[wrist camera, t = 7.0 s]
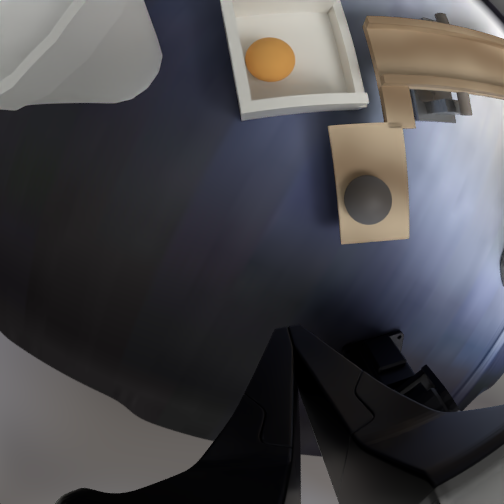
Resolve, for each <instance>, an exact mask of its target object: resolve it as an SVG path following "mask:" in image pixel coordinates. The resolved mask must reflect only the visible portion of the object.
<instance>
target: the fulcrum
mask: <svg viewBox="0 0 504 504" xmlns="http://www.w3.org/2000/svg"><path fill="white" fill-rule="evenodd" d="M419 20H426V21H432V22H437V21H434V20H431V19H427V18H421V19H419ZM410 90H411V95H412V100H413V106H414V112H415V118H416V121H431V122H446V123H456V120H455V115H459V114H460V109H459V103H458V100H452V96H451V92H447V91H436V90H420V89H410Z"/></svg>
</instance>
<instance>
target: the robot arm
mask: <svg viewBox="0 0 504 504" xmlns="http://www.w3.org/2000/svg"><path fill="white" fill-rule="evenodd" d="M398 336H399V337H398ZM403 337H404V334H403V333H402V332H401V331H397V332H394V333H390V334H387V335H383V336H380V337H376V338H372V339H369V340H365V341H361V342H357V343H353V344H349V345H346V346H344V347H343V349H342V355H341V354H340V353H338V352H337V351H335V350H334V349H333V348H331V347H330V346H329V345H327V344H326V343H325V342H323V341H322V340H320V339H319V338H318V337H316V336H315V335H314V334H312V333H311V332H310V331H308V330H307V329H306V328H304V327H303V326H302V325H294V326H289V327H288V328H287V327H283V328H277V329H275V330H274V332H273V334H272V336H271V339H270V341H269V343H268V345H267V347H266V349H265V352H264V354H263V356H262V358H261V360H260V362H259V364H258V366H257V368H256V371H255V373H254V375H253V377H252V379H251V381H250V383H249V385H248V387H247V389H246V391H245V393H244V395H243V397H242V399H241V401H240V403H239V405H238V407H237V408H236V410H235V412H234V414H233V415H232V417H231V418H230V420H229V421H228V423H227V424H226V426H225V427H224V429H223V430H222V431H221V433H220V434H219V435H218V437H217V438H216V439H215V441H214V442H213V443H212V445H211V446H210V447H209V448H208V450H207V451H206V452H205V454H204V455H203V456H202V457H201V459H200V460H199V461H198V462H197V463H196V464H195V465H194V466H192V467H191V468H190V469H188V470H187V471H185V472H182V473H180V474H178V475H175V476H173V477H170V478H168V479H165V480H163V481H160V482H157V483H155V484H152V485H149V486H147V487H144V488H141V489H138V490H135V491H131V492H126V493H104V492H100V491H96V490H92V489H88V488H80V489H77V490H74V491H71V492H69V493H67V494H65V495H63V496H61V497H60V498H59V499H58V500H57V501H56V503H55V504H301V458H300V421H299V396H298V389H299V392H300V395H301V398H302V401H303V404H304V406H305V409H306V412H307V415H308V418H309V420H310V423H311V426H312V429H313V432H314V435H315V437H316V440H317V443H318V446H319V449H320V451H321V454H322V457H323V460H324V463H325V465H326V468H327V471H328V474H329V476H330V479H331V482H332V485H333V488H334V490H335V493H336V496H337V497H338V498H337V499H338V502H339V504H504V405H499V406H494V407H488V408H482V409H475V410H468V411H460V410H459V408H458V407H457V405H456V403H455V402H454V400H453V398H452V397H451V395H450V394H449V392H448V391H447V390H446V388H445V387H444V386H443V384H442V383H441V382H440V381H439V379H438V378H437V377H436V376H435V374H434V373H433V372H432V371H431V370H430V368H429V367H428V366H427V365H425V366H423V367H422V368H421V370H420V371H419V372H417V373H416V374H415V373H414V372H413V370H412V369H411V367H410V366H409V364H408V363H407V362H406V359H405V357H404V356H403V354H402V353H401V349H402V343H403ZM348 349H349V350H348ZM347 350H348V351H347Z"/></svg>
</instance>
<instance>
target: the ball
mask: <svg viewBox="0 0 504 504" xmlns="http://www.w3.org/2000/svg"><path fill="white" fill-rule="evenodd" d="M245 63H246V67H247V69H248V71H249V72H250V73H251V74H252V75H253V76H254V77H256V78H257V79H259V80H262V81H266V82H276V81H280V80H282V79H284V78H286V77H287V76H288V75H289V74H290V73H291V72H292V70H293V68H294V66H295V55H294V52H293V50H292V48H291V47H290V46H289V45H288V44H287V43H286V42H284V41H283V40H280V39H277V38H272V37H267V38H262V39H259V40H257V41H255V42H254V43H253V44H251V45H250V47H249V48H248V50H247V52H246V55H245Z"/></svg>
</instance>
